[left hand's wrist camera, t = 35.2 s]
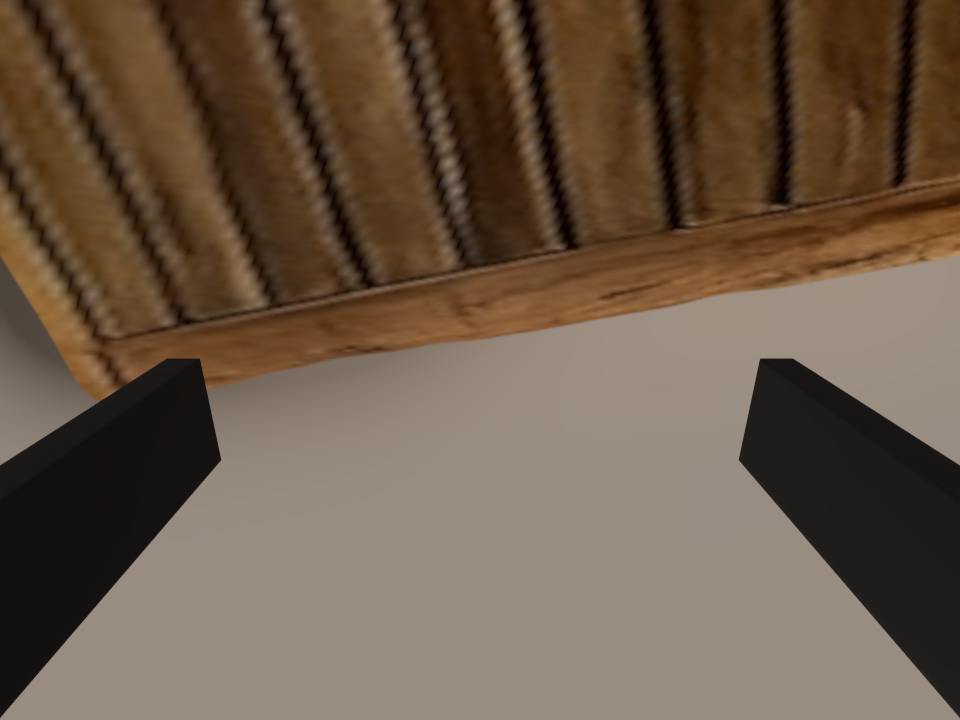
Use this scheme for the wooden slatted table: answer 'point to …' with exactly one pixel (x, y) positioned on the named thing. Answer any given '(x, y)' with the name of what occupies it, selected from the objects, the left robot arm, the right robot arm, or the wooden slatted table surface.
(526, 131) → the wooden slatted table surface
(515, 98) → the wooden slatted table surface
